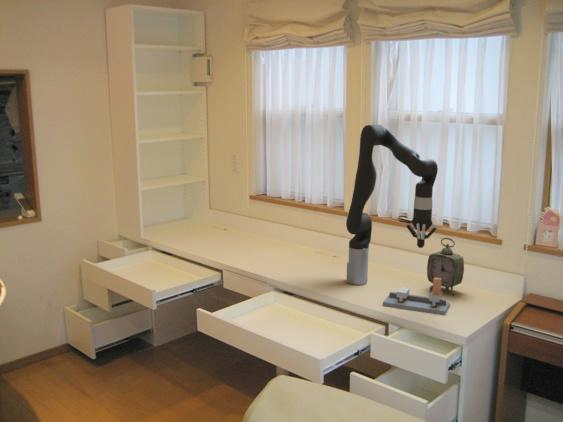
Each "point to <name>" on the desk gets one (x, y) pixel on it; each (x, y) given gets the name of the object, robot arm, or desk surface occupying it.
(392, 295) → the hole plate with beam
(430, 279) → the tabletop clock
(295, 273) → the desk surface
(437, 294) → the sliding leg
